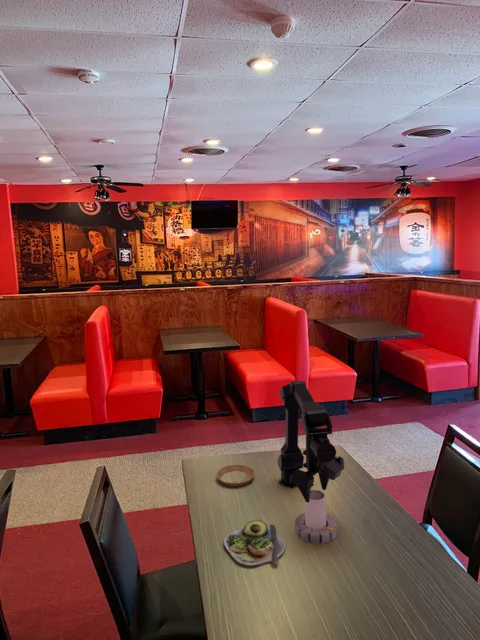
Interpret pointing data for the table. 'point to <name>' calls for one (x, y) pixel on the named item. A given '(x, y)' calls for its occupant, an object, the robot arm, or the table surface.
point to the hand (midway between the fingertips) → (315, 495)
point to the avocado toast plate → (255, 543)
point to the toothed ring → (316, 535)
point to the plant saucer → (231, 468)
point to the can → (315, 511)
